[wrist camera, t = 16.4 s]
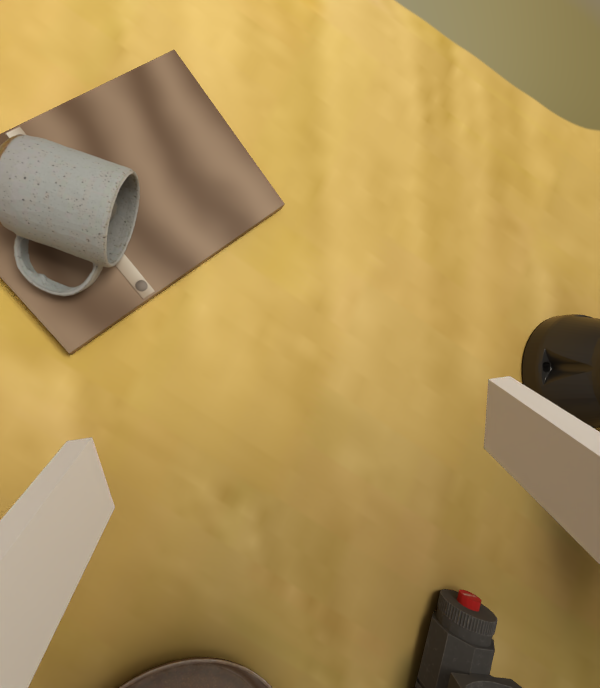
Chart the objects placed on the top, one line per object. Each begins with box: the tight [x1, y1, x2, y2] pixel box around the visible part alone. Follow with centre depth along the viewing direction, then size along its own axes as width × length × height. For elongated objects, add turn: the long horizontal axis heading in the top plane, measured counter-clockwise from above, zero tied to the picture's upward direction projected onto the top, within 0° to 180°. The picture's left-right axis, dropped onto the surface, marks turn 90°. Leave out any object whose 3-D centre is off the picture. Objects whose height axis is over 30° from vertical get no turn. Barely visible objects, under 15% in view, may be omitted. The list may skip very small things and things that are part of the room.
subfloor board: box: [0, 50, 284, 354], centre depth 34 cm, size 24×17×1 cm
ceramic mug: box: [0, 135, 140, 296], centre depth 28 cm, size 11×8×8 cm
